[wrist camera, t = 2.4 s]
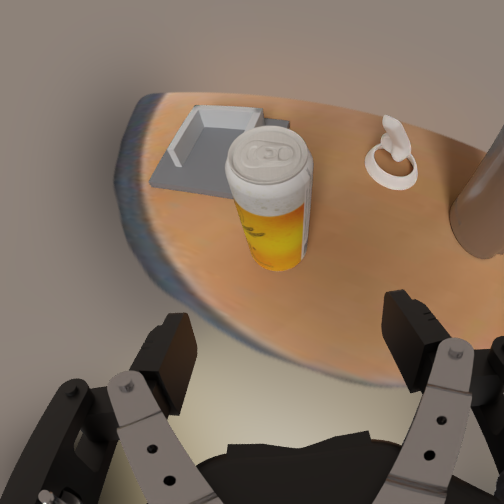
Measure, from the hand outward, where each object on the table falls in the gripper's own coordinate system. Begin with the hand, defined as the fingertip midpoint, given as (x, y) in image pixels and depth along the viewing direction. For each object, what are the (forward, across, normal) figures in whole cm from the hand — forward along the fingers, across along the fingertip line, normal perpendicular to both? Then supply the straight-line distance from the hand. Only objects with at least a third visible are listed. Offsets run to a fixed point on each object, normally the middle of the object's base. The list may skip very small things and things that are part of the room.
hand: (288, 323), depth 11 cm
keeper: (+31, +6, -6) cm, 32 cm away
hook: (+28, -16, -3) cm, 32 cm away
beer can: (+21, 0, +4) cm, 21 cm away
